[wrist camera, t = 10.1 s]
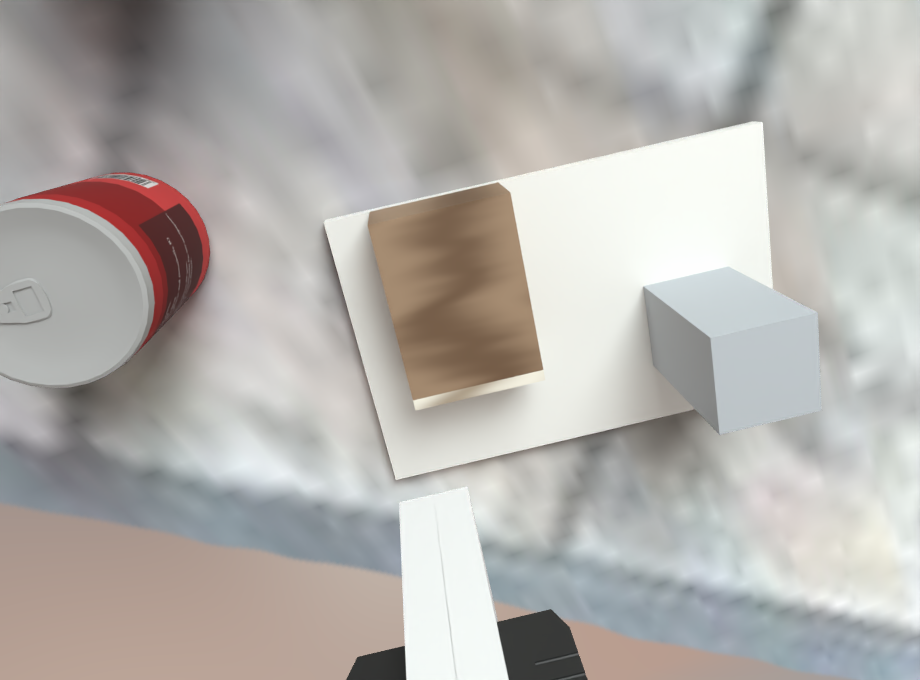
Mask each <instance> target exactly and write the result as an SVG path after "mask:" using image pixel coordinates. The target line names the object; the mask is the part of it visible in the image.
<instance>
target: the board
mask: <svg viewBox="0 0 920 680" xmlns="http://www.w3.org/2000/svg"><path fill="white" fill-rule="evenodd" d="M497 182H499V183H500V184H501V185H502V186H503V187H505V188H506V189H507V190H508V191H509V192H510V193H511V198H512V204H513V209H514V214H515V220H516V225H517V230H518V236H519V241H520V247H521V252H522V257H523V263H524V268H525V273H526V279H527V284H528V290H529V295H530V300H531V306H532V311H533V317H534V322H535V327H536V333H537V338H538V343H539V349H540V354H541V360H542V365H543V370H544V376H545V380H544V381H540V382H535V383H531V384H527V385H523V386H518V387H514V388H510V389H506V390H501V391H497V392H493V393H489V394H484V395H480V396H476V397H472V398H467V399H463V400H459V401H454V402H450V403H446V404H442V405H437V406H433V407H429V408H425V409H420V410H415V406H414V403H413V399H412V395H411V391H410V387H409V383H408V380H407V376H406V372H405V368H404V364H403V360H402V356H401V353H400V349H399V345H398V341H397V337H396V333H395V329H394V326H393V322H392V318H391V314H390V310H389V306H388V303H387V299H386V295H385V291H384V287H383V283H382V279H381V276H380V272H379V268H378V264H377V260H376V256H375V252H374V249H373V245H372V241H371V237H370V233H369V229H368V219H369V213H370V212H371V211H376V210H380V209H384V208H389V207H393V206H397V205H402V204H406V203H410V202H415V201H419V200H423V199H428V198H432V197H436V196H441V195H445V194H450V193H454V192H458V191H463V190H467V189H471V188H476V187H480V186H484V185H489V184H493V183H497ZM324 226H325V230H326V233H327V237H328V240H329V244H330V247H331V251H332V254H333V258H334V262H335V265H336V269H337V272H338V276H339V279H340V283H341V286H342V290H343V294H344V297H345V301H346V304H347V308H348V311H349V315H350V319H351V322H352V326H353V329H354V333H355V336H356V340H357V343H358V347H359V351H360V354H361V358H362V361H363V365H364V368H365V372H366V375H367V379H368V383H369V386H370V390H371V393H372V397H373V400H374V404H375V407H376V411H377V415H378V418H379V422H380V425H381V429H382V432H383V436H384V440H385V443H386V447H387V450H388V454H389V457H390V461H391V464H392V468H393V472H394V475H395V479H396V480H398V479H402V478H407V477H411V476H415V475H419V474H423V473H428V472H432V471H436V470H440V469H445V468H449V467H453V466H457V465H462V464H466V463H470V462H474V461H478V460H483V459H487V458H491V457H495V456H500V455H504V454H508V453H512V452H517V451H521V450H525V449H529V448H534V447H538V446H542V445H546V444H550V443H555V442H559V441H563V440H567V439H572V438H576V437H580V436H584V435H589V434H593V433H597V432H601V431H605V430H610V429H614V428H618V427H622V426H627V425H631V424H635V423H639V422H644V421H648V420H652V419H656V418H661V417H665V416H669V415H673V414H677V413H682V412H686V411H690V410H694V408H693V407H692V405H691V404H690V403H689V402H688V401H687V400H686V399H685V398H684V397H683V396H682V395H681V394H680V393H679V392H678V391H677V390H676V389H675V388H674V387H673V386H672V385H671V384H670V383H669V381H668V380H667V379H666V378H665V377H664V376H663V375H662V374H661V373H660V372H659V371H658V370H657V369H656V368H655V367H654V366H653V359H652V351H651V343H650V335H649V328H648V320H647V312H646V304H645V296H644V288H643V286H646V285H650V284H655V283H659V282H663V281H668V280H672V279H676V278H681V277H685V276H689V275H693V274H698V273H702V272H706V271H711V270H715V269H719V268H723V267H728V266H729V267H730V268H732V269H734V270H736V271H738V272H740V273H742V274H744V275H746V276H748V277H750V278H752V279H754V280H756V281H758V282H759V283H761V284H763V285H765V286H767V287H769V288H771V289H773V286H772V269H771V253H770V236H769V220H768V204H767V187H766V171H765V154H764V138H763V122H754V121H753V122H749V123H745V124H740V125H736V126H731V127H727V128H723V129H718V130H714V131H710V132H705V133H701V134H697V135H692V136H688V137H684V138H679V139H675V140H670V141H666V142H662V143H657V144H653V145H649V146H644V147H640V148H636V149H631V150H627V151H623V152H618V153H614V154H609V155H605V156H601V157H596V158H592V159H588V160H583V161H579V162H575V163H570V164H566V165H562V166H557V167H553V168H548V169H544V170H540V171H535V172H531V173H527V174H522V175H518V176H514V177H509V178H505V179H501V180H496V181H492V182H487V183H483V184H479V185H474V186H470V187H466V188H461V189H457V190H453V191H448V192H444V193H440V194H435V195H431V196H426V197H422V198H418V199H413V200H409V201H405V202H400V203H396V204H392V205H387V206H383V207H379V208H374V209H370V210H365V211H361V212H357V213H352V214H348V215H344V216H339V217H335V218H331V219H326V220H325V221H324Z"/></svg>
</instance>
